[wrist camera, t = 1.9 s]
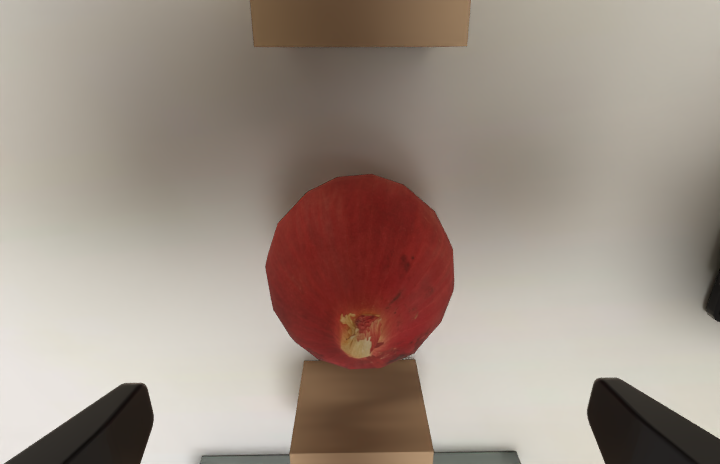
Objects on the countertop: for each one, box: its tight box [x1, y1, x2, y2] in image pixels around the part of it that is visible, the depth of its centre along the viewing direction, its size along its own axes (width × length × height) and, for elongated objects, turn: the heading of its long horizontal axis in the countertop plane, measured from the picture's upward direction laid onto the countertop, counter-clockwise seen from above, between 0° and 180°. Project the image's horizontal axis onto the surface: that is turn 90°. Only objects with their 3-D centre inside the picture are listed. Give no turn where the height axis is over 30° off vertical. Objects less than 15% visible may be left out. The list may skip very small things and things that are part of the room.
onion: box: [265, 174, 454, 370], centre depth 14 cm, size 6×6×8 cm
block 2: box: [290, 359, 434, 464], centre depth 18 cm, size 5×3×5 cm, turn 90°
